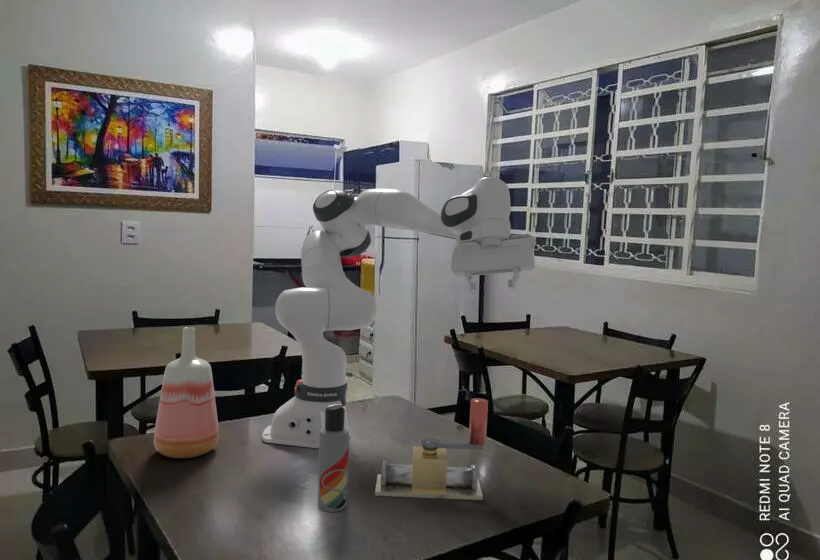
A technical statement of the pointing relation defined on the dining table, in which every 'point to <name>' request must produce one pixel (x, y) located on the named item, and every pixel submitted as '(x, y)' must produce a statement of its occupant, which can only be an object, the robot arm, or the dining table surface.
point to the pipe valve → (428, 478)
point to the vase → (187, 405)
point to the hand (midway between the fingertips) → (492, 289)
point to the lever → (475, 430)
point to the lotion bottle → (333, 461)
